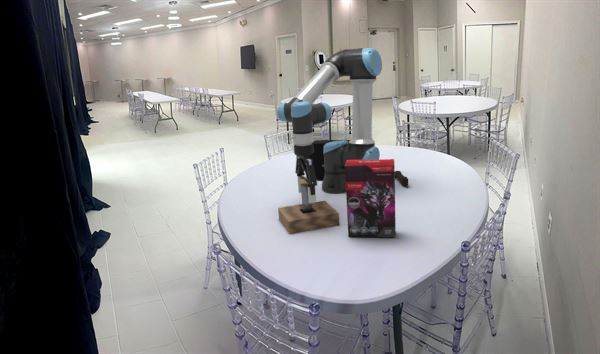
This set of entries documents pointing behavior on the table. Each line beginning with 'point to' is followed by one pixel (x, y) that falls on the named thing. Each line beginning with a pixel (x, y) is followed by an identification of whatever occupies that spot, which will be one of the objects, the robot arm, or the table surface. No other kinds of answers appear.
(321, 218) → the hole block
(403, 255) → the table surface
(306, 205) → the pin
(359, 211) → the graphics card box
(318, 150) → the black hard case
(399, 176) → the hand tool
